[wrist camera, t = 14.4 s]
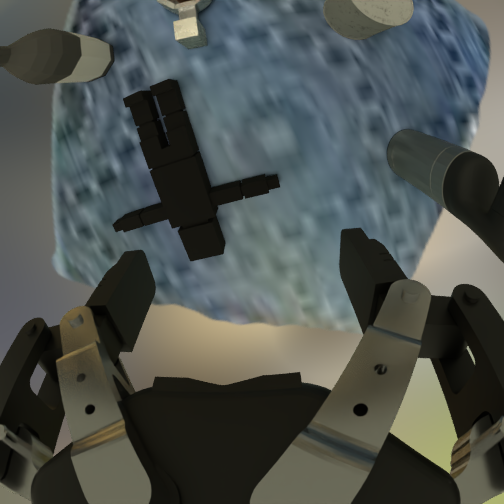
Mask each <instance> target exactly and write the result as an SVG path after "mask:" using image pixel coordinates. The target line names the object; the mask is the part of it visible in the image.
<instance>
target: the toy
mask: <svg viewBox="0 0 504 504" xmlns="http://www.w3.org/2000/svg"><path fill="white" fill-rule="evenodd" d="M150 89H151V91H138V92H136V93H134V94H132V95H130V96H128V97H125V98H123V101H124V104H125V107H130V110H131V113H132V116H133V119H134V122H135V125H136V126H139V128H137V131H138V134H139V137H140V140H141V142H140V146H141V148H142V151H143V154H144V157H145V160H146V162H147V165H148V168H149V169H151V168H152V170H151V171H150V173H151V176H152V179H153V181H154V184H155V187H156V189H157V192H158V194H159V197H160V200H161V203H158V204H155V205H152V206H149V207H146V208H145V209H144V208H143V209H139V210H136V211H133V212H131V213H128V214H125V215H124V216H123V217H122V218H121V219H118V220H117V221H116V222H115V223H114V224H113V227H114V229H115V231H116V232H118V231H121V230H123V231H124V232H127V231H130V230H133V229H136V228H140V227H143V226H144V225H145V226H146V225H150V224H153V223H156V222H160V221H163V220H167V219H168V220H169V222H170V224H171V227H172V228H176V227H180V228H179V230H178V233H179V235H180V238H181V240H182V243H183V245H184V247H185V250H186V252H187V254H188V257H189V259H190V261H195V260H199V259H204V258H208V257H212V256H217V255H221V254H224V248H225V240H224V237H223V234H222V231H221V228H220V225H219V222H218V220H217V217H216V213H217V209H218V205H222V204H226V203H230V202H234V201H238V200H242V199H243V196H245V199H246V198H250V197H254V196H258V195H263V194H267V193H269V190H270V189H275V188H279V187H280V184H279V180H278V176H277V174H276V175H272V176H268V177H265V174H264V175H259V176H255V177H251V178H247V179H243V180H242V183H241V182H240V180H239V181H235V182H231V183H227V184H224V185H220V186H216V187H212V188H211V185H210V182H209V179H208V176H207V173H206V170H205V166H204V163H203V160H202V157H201V154H200V151H199V152H197V151H198V150H199V148H198V145H197V142H196V138H195V135H194V132H193V129H192V126H191V123H190V120H189V117H188V114H187V111H183V109H185V104H184V101H183V98H182V95H181V91H180V88H179V85H178V82H177V80H172V79H167V80H165V81H162V82H160V83H157V84H155V85H152V86H150ZM151 92H152V93H151ZM153 96H156V98H157V101H158V104H159V107H160V110H161V113H162V116H164V115H166V117H165V118H163V120H164V123H165V126H166V129H167V132H166V134H167V137H168V140H169V143H170V145H169V144H168V141H167V138H166V135H165V132H164V130H163V127H162V124H161V121H160V120H158V121H157V119H158V118H159V115H158V112H157V109H156V105H155V102H154V99H153Z"/></svg>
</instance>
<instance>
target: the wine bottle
mask: <svg viewBox="0 0 504 504" xmlns="http://www.w3.org/2000/svg"><path fill="white" fill-rule="evenodd" d="M113 62H114V54H113V46H112V45H110V44H108V43H106V42H104V41H102V40H100V39H96V38H93V37H89V36H84V35H80V34H76V33H71V32H66V31H61V30H55V29H43V30H38V31H35V32H32V33H30V34H27V35H26V36H24V37H22V38H21V39H19V40H17V41H16V42H14V43H12V44H11V45H9V46H0V67H4V68H5V69H6V70H7V71H8V72H9V73H11V74H12V75H14V76H15V77H17V78H19V79H21V80H23V81H25V82H28V83H31V84H35V85H38V84H50V83H66V82H90V81H93V80H95V79H98V78H100V77H103V76H105V75H106V73H107V72H108V70H109V68H110V67H111V65H112V64H113Z"/></svg>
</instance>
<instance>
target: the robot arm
mask: <svg viewBox="0 0 504 504" xmlns="http://www.w3.org/2000/svg"><path fill="white" fill-rule="evenodd" d="M387 158H388V162H389V165H390V167H391V169H392V170H393V171H394V173H396V174H397V175H398V176H400V177H401V178H403V179H404V180H406V181H407V182H409V183H410V184H412V185H413V186H414V187H416V188H417V189H419V190H420V191H422V192H423V193H425V194H426V195H427V196H429V197H430V198H432V199H433V200H434V201H436V202H437V203H438V204H440V205H441V206H442V207H444V208H445V209H446V210H448V211H449V212H450V213H451V214H453V215H454V216H455V217H456V218H458V219H459V220H461V221H462V222H463V223H464V224H466V225H467V226H468V227H469V228H470V229H471V230H472V231H473V232H474V233H476V234H477V235H478V236H479V237H480V238H481V239H482V240H483V241H484V243H485V244H486V245H487V246H488V247H489V248H490V249H491V250H492V251H493V252H494V253H495V254H496V256H497V257H498V258H499V259H500V260H501V261H502V262H503V263H504V177H503V180H502V182H501V184H500V187H499V179H498V175H497V172H496V169H495V167H494V166H493V164H492V163H491V162H490V161H489V160H488V159H487V158H485V157H484V156H482V155H479V154H477V153H475V152H472V151H470V150H468V149H465V148H463V147H460V146H457V145H455V144H452V143H450V142H447V141H444V140H441V139H439V138H436V137H433V136H430V135H427V134H424V133H421V132H418V131H414V130H410V129H406V130H402V131H399V132H398V133H397V134H395V135H394V136H393V138H392V139H391V141H390V143H389V146H388V150H387ZM339 267H340V275H341V279H342V281H343V284H344V286H345V288H346V291H347V293H348V296H349V298H350V301H351V303H352V306H353V308H354V311H355V313H356V316H357V319H358V321H359V324H360V327H361V329H362V332H363V337H362V339H361V341H360V343H359V345H358V347H357V348H356V350H355V352H354V354H353V356H352V357H351V359H350V361H349V363H348V364H347V366H346V368H345V370H344V371H343V373H342V375H341V376H340V378H339V380H338V381H337V383H336V385H335V387H334V388H333V389H332V391H331V390H329V389H327V388H325V387H321V386H318V385H314V384H309V383H302V382H301V375H300V372H297V373H287V374H276V375H263V376H259V377H256V378H252V379H248V380H244V381H241V382H237V383H233V384H229V385H217V384H213V383H208V382H203V381H199V380H195V379H191V378H177V377H155V379H154V383H153V387H150V388H146V389H143V390H140V391H138V392H136V391H135V389H134V387H133V385H132V383H131V381H130V379H129V377H128V374H127V372H126V370H125V368H124V365H123V363H122V361H121V359H120V358H119V354H120V352H132V351H133V348H134V345H135V343H136V340H137V338H138V335H139V332H140V330H141V327H142V324H143V322H144V320H145V317H146V315H147V312H148V310H149V307H150V305H151V302H152V300H153V298H154V295H155V290H156V286H155V281H154V278H153V275H152V272H151V269H150V266H149V264H148V261H147V258H146V255H145V253H144V251H143V250H134V251H126V252H124V254H123V255H122V256H121V258H120V259H119V261H118V262H117V264H115V265H114V266H113V267H112V268H111V269H109V270H108V271H107V272H106V274H105V275H104V277H103V278H102V280H101V281H100V283H99V284H98V287H96V289H95V290H94V292H93V294H92V295H91V297H90V299H89V300H88V301H87V303H86V305H85V306H79V307H76V308H74V309H72V310H70V311H68V312H67V313H66V314H65V315H64V316H63V318H62V320H61V321H60V325H56V326H53V327H48V326H47V324H46V323H45V321H44V320H43V319H42V318H34V319H32V320H30V321H28V322H27V323H26V324H25V325H24V326H23V328H22V329H21V330H20V332H19V333H18V335H17V337H16V339H15V340H14V342H13V344H12V345H11V347H10V349H9V350H8V352H7V354H6V356H5V358H4V360H3V361H2V363H1V365H0V486H1V487H3V488H5V489H7V490H9V491H10V492H12V493H15V494H18V495H20V496H22V497H24V498H26V499H28V500H30V501H31V502H32V504H482V503H484V502H485V501H487V500H489V499H491V498H493V497H495V496H497V495H499V494H501V493H503V492H504V321H503V319H502V318H501V316H500V315H499V313H498V312H497V310H496V309H495V308H494V306H493V305H492V303H491V302H490V300H489V299H488V298H487V296H486V295H485V294H484V293H483V292H482V291H481V290H480V289H479V288H477V287H475V286H473V285H469V284H460V285H458V286H456V287H455V288H454V290H453V292H452V295H451V297H446V296H434V295H431V293H430V291H429V290H428V288H427V287H426V286H425V285H423V284H421V283H420V282H418V281H415V280H410V279H408V278H407V277H406V275H405V274H404V272H403V271H402V270H401V268H400V267H399V265H398V264H397V262H396V261H395V260H394V258H393V257H392V256H391V254H389V251H388V250H387V249H386V247H385V246H384V245H383V244H382V243H380V242H378V241H377V240H375V239H369V238H368V237H367V236H366V234H365V233H364V231H363V230H362V229H361V228H351V229H342V231H341V242H340V262H339ZM467 346H469V348H470V350H471V352H472V354H473V356H474V358H475V365H474V362H473V361H472V358H471V356H470V354H469V352H468V350H467V349H466V348H467ZM417 358H430V359H431V361H432V364H433V367H434V369H435V372H436V374H437V377H438V380H439V382H440V385H441V388H442V391H443V393H444V396H445V399H446V402H447V405H448V408H449V411H450V414H451V417H452V420H453V424H454V427H455V431H456V434H457V438H458V440H457V441H456V443H455V444H454V446H453V449H452V454H451V472H450V474H449V473H448V472H447V471H445V470H444V469H442V468H441V467H439V466H438V465H436V464H435V463H433V462H431V461H430V460H429V459H427V458H426V457H424V456H423V455H421V454H420V453H418V452H417V451H415V450H414V449H412V448H411V447H410V446H408V445H407V444H405V443H404V442H403V441H401V440H400V439H398V438H397V437H396V436H394V435H393V434H391V433H390V432H389V431H390V428H391V426H392V424H393V422H394V420H395V417H396V415H397V412H398V410H399V408H400V405H401V403H402V400H403V398H404V395H405V393H406V390H407V387H408V385H409V382H410V379H411V376H412V373H413V370H414V367H415V364H416V361H417ZM37 363H38V364H39V365H40V366H41V368H42V369H43V370H44V371H45V372H46V376H45V378H44V381H43V383H42V385H41V388H40V390H39V393H38V395H36V394H35V393H34V392H33V391H32V390H31V387H30V378H31V376H32V374H33V372H34V369H35V368H36V365H37ZM65 414H66V419H67V422H68V426H69V430H70V434H71V438H72V441H73V442H71V443H70V444H69V445H68V446H66V447H65V448H64V449H63V450H61V451H60V452H59V453H58V454H56V455H55V456H54V457H53V454H54V449H55V446H56V442H57V439H58V435H59V432H60V429H61V425H62V422H63V419H64V416H65Z"/></svg>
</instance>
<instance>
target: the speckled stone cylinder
mask: <svg viewBox="0 0 504 504" xmlns="http://www.w3.org/2000/svg"><path fill="white" fill-rule="evenodd" d="M413 9H414V8H413V1H412V0H326V1H325V3H324V7H323V13H324V16H325V19H326V21H327V23H328V24H329V25H330V27H331V28H332V29H333V30H334V31H336V32H337V33H338V34H340V35H342V36H344V37H346V38H349V39H354V40H362V39H367V38H369V37H371V36H372V35H375V34H377V33H380V32H382V31H384V30H387V29H389V28H392V27H395V26H398V25H402V24H404V23H406V22H407V21H408V20H409V19H410V18H411V16H412V14H413Z"/></svg>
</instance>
